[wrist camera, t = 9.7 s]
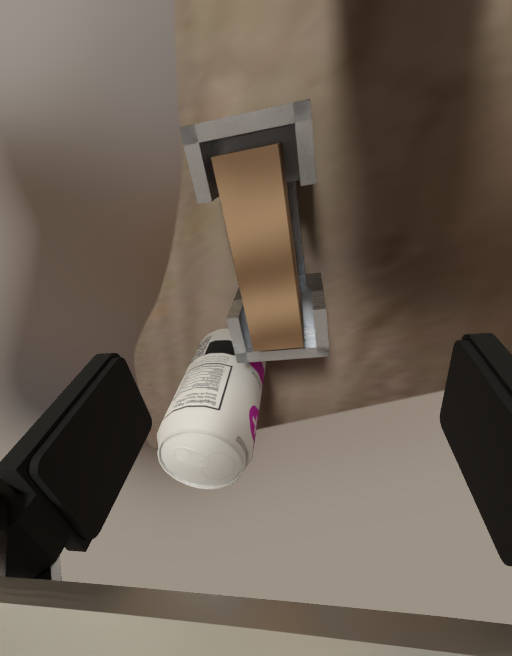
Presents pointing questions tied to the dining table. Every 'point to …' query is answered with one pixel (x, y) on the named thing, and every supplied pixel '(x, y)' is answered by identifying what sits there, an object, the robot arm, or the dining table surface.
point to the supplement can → (212, 416)
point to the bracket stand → (299, 160)
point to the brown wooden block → (262, 243)
